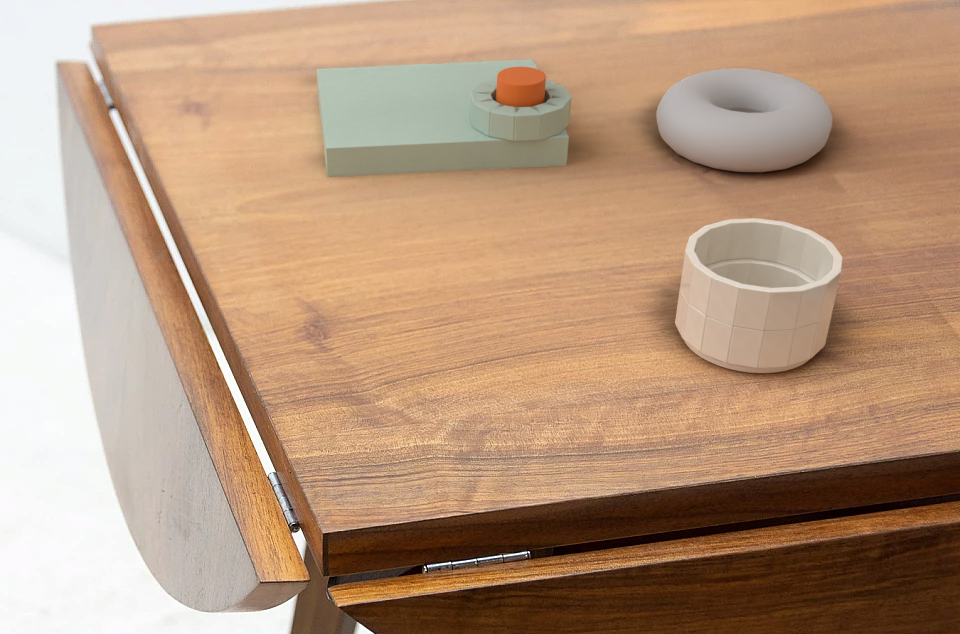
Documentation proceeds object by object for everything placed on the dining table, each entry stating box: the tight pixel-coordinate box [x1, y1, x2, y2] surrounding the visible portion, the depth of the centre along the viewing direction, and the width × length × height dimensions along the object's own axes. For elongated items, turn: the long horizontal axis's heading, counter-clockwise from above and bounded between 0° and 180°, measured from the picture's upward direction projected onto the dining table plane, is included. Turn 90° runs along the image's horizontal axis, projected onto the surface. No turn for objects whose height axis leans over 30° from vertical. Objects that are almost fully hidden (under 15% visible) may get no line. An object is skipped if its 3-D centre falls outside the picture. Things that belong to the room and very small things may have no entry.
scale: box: [316, 58, 572, 178], centre depth 84 cm, size 14×12×4 cm
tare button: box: [496, 67, 547, 107], centre depth 80 cm, size 3×3×2 cm
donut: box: [655, 67, 834, 173], centre depth 81 cm, size 10×4×10 cm
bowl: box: [674, 217, 844, 374], centre depth 64 cm, size 7×7×4 cm
